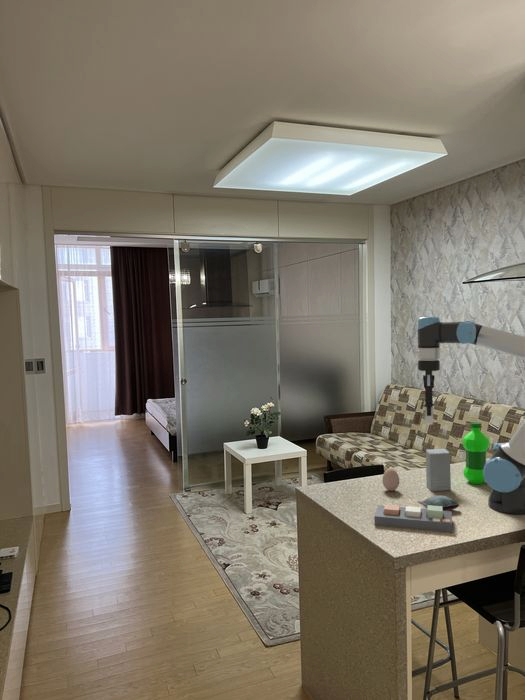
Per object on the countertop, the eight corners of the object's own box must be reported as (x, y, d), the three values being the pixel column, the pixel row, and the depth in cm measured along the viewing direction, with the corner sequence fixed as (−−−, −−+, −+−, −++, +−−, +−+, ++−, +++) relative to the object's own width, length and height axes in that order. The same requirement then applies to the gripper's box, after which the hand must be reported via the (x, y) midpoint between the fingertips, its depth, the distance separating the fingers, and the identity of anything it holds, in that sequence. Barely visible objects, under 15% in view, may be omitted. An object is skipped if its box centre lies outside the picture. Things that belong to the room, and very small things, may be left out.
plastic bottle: (490, 480, 223) (490, 421, 222) (487, 487, 214) (486, 426, 213) (465, 477, 228) (465, 419, 227) (461, 484, 219) (460, 424, 218)
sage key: (442, 517, 178) (442, 506, 178) (442, 523, 174) (442, 511, 174) (427, 516, 180) (427, 505, 180) (427, 521, 175) (427, 509, 175)
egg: (398, 488, 216) (397, 466, 215) (400, 493, 209) (400, 470, 208) (381, 488, 216) (381, 466, 216) (383, 493, 210) (383, 470, 209)
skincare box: (445, 486, 217) (445, 447, 216) (451, 491, 210) (451, 452, 209) (425, 486, 217) (424, 448, 216) (430, 492, 210) (429, 452, 209)
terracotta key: (399, 516, 183) (399, 505, 183) (398, 521, 178) (398, 510, 178) (385, 515, 184) (385, 504, 184) (384, 520, 180) (384, 508, 180)
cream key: (420, 518, 181) (420, 507, 180) (420, 524, 176) (420, 512, 176) (406, 517, 182) (406, 506, 182) (405, 522, 178) (405, 510, 177)
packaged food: (417, 508, 193) (417, 495, 192) (443, 503, 197) (444, 490, 197) (433, 516, 185) (434, 503, 184) (460, 511, 189) (460, 498, 189)
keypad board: (451, 520, 180) (451, 510, 180) (452, 532, 170) (452, 522, 170) (378, 513, 188) (377, 504, 188) (374, 524, 178) (374, 515, 178)
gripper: (418, 358, 199) (419, 420, 200) (417, 360, 187) (417, 427, 188) (439, 358, 197) (439, 421, 198) (439, 361, 184) (440, 428, 186)
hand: (429, 424), depth 193 cm, fingers closed
